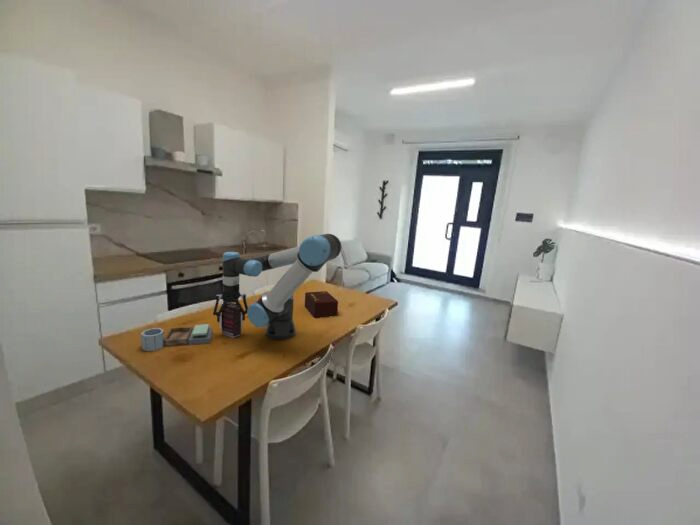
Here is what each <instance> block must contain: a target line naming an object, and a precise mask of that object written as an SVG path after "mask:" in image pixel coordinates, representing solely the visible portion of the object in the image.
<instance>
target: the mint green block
mask: <svg viewBox="0 0 700 525" xmlns="http://www.w3.org/2000/svg"><path fill="white" fill-rule="evenodd" d="M208 328H210V323H209V324H208V323H207V324H204V323H203V324H195V325H194V327H193V329H194V330H193V333H192V336H197V335H198V336H199V335H207V332H208Z"/></svg>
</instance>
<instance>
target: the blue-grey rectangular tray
mask: <svg viewBox="0 0 700 525" xmlns="http://www.w3.org/2000/svg"><path fill="white" fill-rule="evenodd" d="M193 330H194V328H193V329H192V332H191V334H190V337H189V339H188V345H187V346H194V345H206V344H211V341H212V336H213V332H214V331H213V330H214V329H213V327H209V328H208V332H207V335H199V336H198V335H197V336H192V333H193Z"/></svg>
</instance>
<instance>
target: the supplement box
mask: <svg viewBox="0 0 700 525" xmlns="http://www.w3.org/2000/svg"><path fill="white" fill-rule="evenodd" d="M241 306H242V304H241V305H237V304H236V303H233V302H230V303H228V302H227V303H226V305H225V307H224V309H223V310H222V312H221V314H222V329H221V334H222V335H224V336H227V337H230V338H233V339H235V338H237V337H239V336H241V335H242V328H241Z"/></svg>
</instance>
